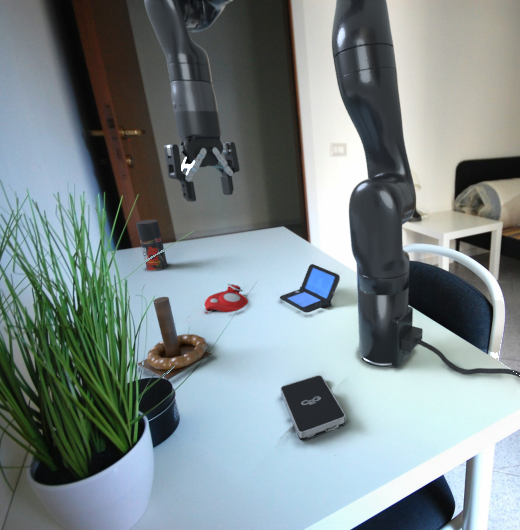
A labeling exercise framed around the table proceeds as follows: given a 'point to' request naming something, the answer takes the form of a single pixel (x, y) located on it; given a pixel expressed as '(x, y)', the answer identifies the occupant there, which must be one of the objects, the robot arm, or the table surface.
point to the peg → (169, 339)
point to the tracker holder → (226, 300)
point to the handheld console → (314, 290)
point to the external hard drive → (312, 407)
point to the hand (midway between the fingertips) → (210, 197)
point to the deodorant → (151, 244)
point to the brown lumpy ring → (178, 361)
